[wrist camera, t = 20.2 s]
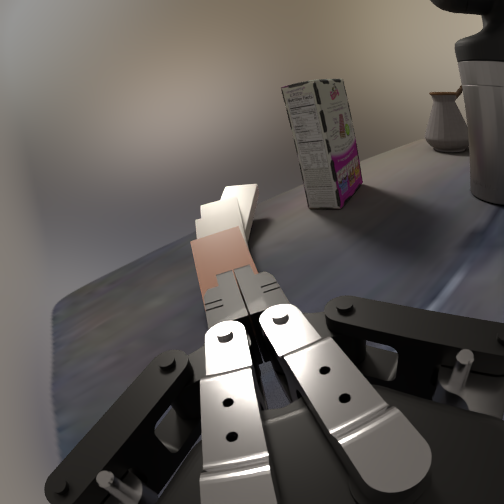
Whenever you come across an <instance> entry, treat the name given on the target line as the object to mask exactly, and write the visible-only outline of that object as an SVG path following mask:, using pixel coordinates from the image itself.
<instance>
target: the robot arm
mask: <svg viewBox="0 0 504 504" xmlns="http://www.w3.org/2000/svg"><path fill="white" fill-rule="evenodd" d="M431 2H433V4H434V5H436V6H437V7H439V8H440V9H442V10H445V11H449V12H453V13H464V14H476V15H481V16H482V20H483V29H482V30H481V31H480V32H479V33H477V34H475V35H472V36H469V37H466V38H463V39H461V40H459V41H457V42H456V43H455V53H456V57H457V61H458V66H459V72H460V77H461V83H462V88H463V95H464V102H465V108H466V118H467V127H468V139H469V154H470V191H471V193H472V194H473V195H474V196H476V197H478V198H480V199H482V200H485V201H488V202H492V203H496V204H503V205H504V0H431ZM233 270H234V274H235V277H236V280H237V282H236V280H235V277H234V274H233V271H232V270H230V271H227V272H223V273H220V274H217V275H216V278H217V282H218V286H217V287H213V288H210V289H207V291H206V293H205V295H204V304H205V310H206V317H207V323H208V329H209V331H208V332H207V334H206V336H205V344H204V345H203V346H202V347H201V348H200V349H199V350H197V351H195V352H193V353H191V354H190V355H188V356H187V355H186V354H185V353H184V352H183V351H180V350H169V351H166V352H163V353H161V354H160V355H158V356H157V357H155V358H154V359H153V360H152V362H151V363H150V364H149V365H148V366H147V367H146V368H145V369H144V370H143V372H142V373H141V374H140V375H139V376H138V377H137V378H136V379H135V381H134V382H133V383H132V384H131V385H130V386H129V387H128V388H127V389H126V391H125V392H124V393H123V394H122V395H121V396H120V397H119V398H118V400H117V401H116V402H115V403H114V404H113V405H112V406H111V407H110V408H109V410H108V411H107V412H106V413H105V414H104V415H103V416H102V417H101V419H100V420H99V421H98V422H97V423H96V424H95V425H94V426H93V427H92V429H91V430H90V431H89V432H88V433H87V434H86V435H85V436H84V438H83V439H82V440H81V441H80V442H79V443H78V444H77V445H76V446H75V448H74V449H73V450H72V451H71V452H70V453H69V454H68V455H67V457H66V458H65V459H64V460H63V461H62V462H61V463H60V464H59V465H58V467H57V468H56V469H55V470H54V471H53V472H52V473H51V474H50V476H49V477H48V479H47V481H46V483H45V496H46V498H47V500H48V501H49V502H50V503H51V504H504V421H503V420H502V419H503V413H504V323H499V322H493V321H487V320H481V319H475V318H469V317H463V316H457V315H452V314H446V313H440V312H435V311H429V310H424V309H418V308H413V307H407V306H402V305H397V304H391V303H386V302H381V301H375V300H370V299H365V298H360V297H355V296H340V297H337V298H334V299H332V300H330V301H329V302H328V303H327V304H326V306H325V308H324V312H319V313H302V312H300V310H299V309H298V308H297V307H295V306H293V305H290V303H289V301H288V300H287V298H286V296H285V295H284V293H283V291H282V290H281V288H280V286H279V285H278V283H277V281H276V280H275V278H274V276H273V275H271V274H269V273H267V272H265V271H264V272H261V273H258V274H254V272H253V270H252V268H251V266H250V264H249V265H246V266H243V267H239V268H236V269H233ZM237 284H238V285H237ZM238 287H239V288H238ZM239 290H240V291H239ZM254 334H255V335H254ZM255 337H256V338H255ZM256 340H257V342H256ZM366 340H367V341H371V342H376V343H380V344H384V345H388V346H391V347H393V348H394V349H395V350H396V351H397V353H395V352H391V351H387V350H383V349H378V348H374V347H370V346H367V345H366ZM257 343H258V345H259V348H260V351H261V353H262V356H263V359H264V361H265V362H268V361H271V363H272V366H273V369H274V373H275V376H276V378H277V380H278V382H279V384H280V386H281V387H282V389H283V391H284V393H285V395H286V397H287V399H288V401H289V403H290V404H289V405H288V406H286V407H283V408H279V409H271V410H269V409H268V405H267V400H266V396H265V392H264V387H263V383H262V380H261V377H260V376H261V371H260V368H259V364H262V363H263V361H262V358H261V355H260V351H259V348H258V345H257ZM170 405H171V406H172V408H171V410H170V411H169V412H168V414H167V415H166V416H165V418H164V419H163V420H162V421H161V423H160V424H159V425H158V426H157V428H156V429H155V425H156V423H157V421H158V420H159V419H160V418H161V416H162V415H163V414H164V412H165V411H166V410H167V409H168V407H169V406H170ZM201 433H202V440H201V441H200V442H199V443H198V444H196V445H195V446H194V448H193V449H192V450H191V451H190V449H191V448H192V446H193V445H194V444H195V442H196V441H197V439H198V438H199V436H200V435H201ZM189 451H190V453H189V454H188V452H189ZM187 454H188V455H187ZM186 455H187V457H186ZM185 457H186V458H185ZM184 458H185V460H184V462H183V463H182V465H181V466H180V468H179V469H178V471H177V472H176V474H175V475H174V477H173V478H172V480H171V481H170V483H169V484H168V486H167V487H166V489H165V490H164V492H163V493H162V495H161V496H160V498H159V497H158V494H159V493H160V491H161V490H162V489H163V487H164V486H165V484H166V483H167V482H168V480H169V479H170V478H171V476H172V475H173V473H174V472H175V471H176V469H177V468H178V466H179V465H180V464H181V462H182V461H183V459H184Z"/></svg>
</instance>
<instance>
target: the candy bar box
mask: <svg viewBox="0 0 504 504" xmlns="http://www.w3.org/2000/svg"><path fill="white" fill-rule="evenodd" d="M281 90H282V94H283V98H284V102H285V106H286V109H287V114H288V118H289V122H290V126H291V130H292V134H293V138H294V142H295V146H296V151H297V156H298V160H299V165H300V169H301V174H302V179H303V184H304V189H305V193H306V198H307V203H308V208H310V209H341V208H342V207H343V206H344V205H345V204H346V202H347V201H348V200H349V199H350V197H351V196H352V195H353V194H354V193H355V191H356V190H357V189H358V188H359V186H360V185H361V184H362V183H363V181H362V175H361V168H360V162H359V156H358V150H357V144H356V139H355V133H354V128H353V123H352V118H351V113H350V109H349V104H348V99H347V94H346V90H345V86H344V81H343V79H323V80H312V81H306V82H301V83H296V84H292V85H288V86H284V87H281Z"/></svg>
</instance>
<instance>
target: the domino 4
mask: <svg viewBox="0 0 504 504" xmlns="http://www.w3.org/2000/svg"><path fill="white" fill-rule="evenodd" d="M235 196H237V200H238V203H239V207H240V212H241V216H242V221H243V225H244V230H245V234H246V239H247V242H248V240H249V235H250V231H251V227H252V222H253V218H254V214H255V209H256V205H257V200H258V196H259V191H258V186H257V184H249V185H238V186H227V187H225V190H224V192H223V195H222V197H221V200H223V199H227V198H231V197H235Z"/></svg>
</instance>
